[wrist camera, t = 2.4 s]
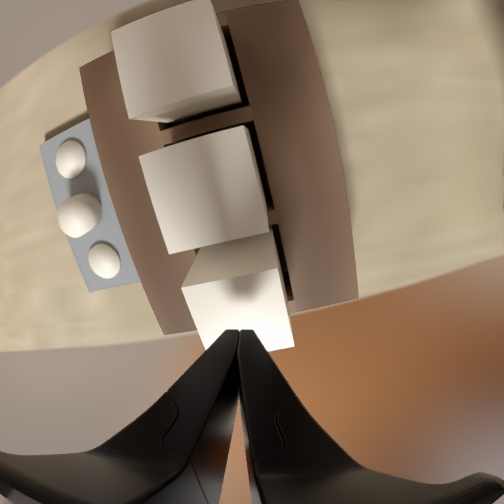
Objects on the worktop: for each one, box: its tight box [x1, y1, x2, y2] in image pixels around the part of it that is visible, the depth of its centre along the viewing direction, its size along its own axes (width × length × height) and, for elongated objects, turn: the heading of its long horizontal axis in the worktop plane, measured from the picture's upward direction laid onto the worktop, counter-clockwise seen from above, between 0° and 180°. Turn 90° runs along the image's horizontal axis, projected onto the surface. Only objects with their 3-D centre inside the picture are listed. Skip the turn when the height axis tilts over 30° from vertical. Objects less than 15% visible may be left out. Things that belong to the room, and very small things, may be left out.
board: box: [79, 0, 359, 335], centre depth 14 cm, size 10×14×4 cm
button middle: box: [139, 125, 269, 254], centre depth 11 cm, size 3×3×5 cm
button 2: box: [181, 225, 294, 351], centre depth 13 cm, size 3×3×5 cm
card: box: [39, 119, 141, 292], centre depth 15 cm, size 4×10×2 cm, turn 14°
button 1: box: [111, 0, 242, 123], centre depth 9 cm, size 3×3×5 cm
